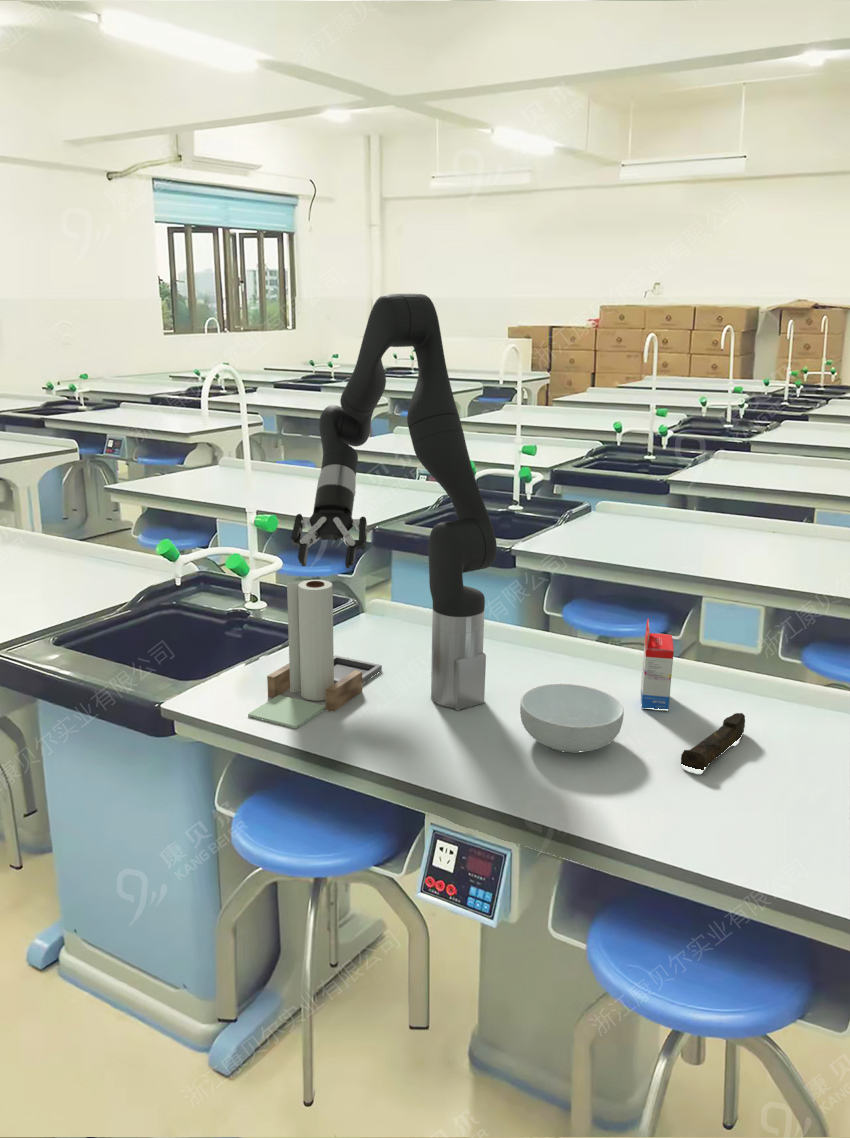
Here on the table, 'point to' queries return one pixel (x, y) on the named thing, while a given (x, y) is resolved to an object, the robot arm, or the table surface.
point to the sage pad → (286, 711)
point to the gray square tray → (354, 668)
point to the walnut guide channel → (334, 694)
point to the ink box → (656, 670)
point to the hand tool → (715, 743)
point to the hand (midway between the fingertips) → (325, 565)
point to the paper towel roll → (311, 637)
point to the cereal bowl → (571, 717)
